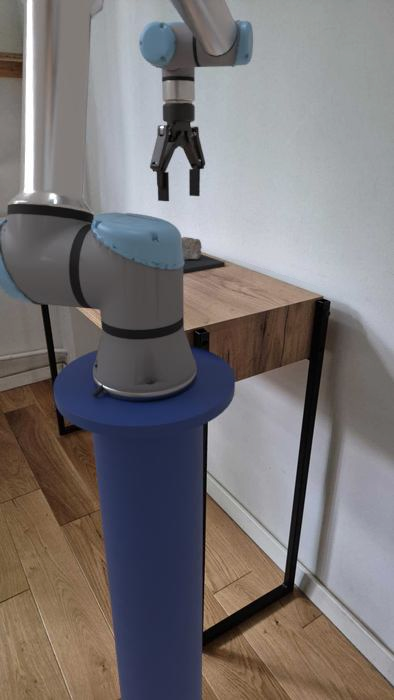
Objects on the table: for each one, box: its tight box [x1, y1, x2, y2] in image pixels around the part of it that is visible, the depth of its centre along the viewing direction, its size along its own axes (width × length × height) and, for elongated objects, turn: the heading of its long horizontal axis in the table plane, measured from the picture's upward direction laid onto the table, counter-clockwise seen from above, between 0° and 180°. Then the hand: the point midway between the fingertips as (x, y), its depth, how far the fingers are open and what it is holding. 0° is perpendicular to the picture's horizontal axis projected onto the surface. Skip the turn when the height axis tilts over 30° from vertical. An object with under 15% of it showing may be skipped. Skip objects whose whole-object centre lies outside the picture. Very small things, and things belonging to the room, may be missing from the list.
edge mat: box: [183, 253, 226, 274], centre depth 131 cm, size 20×14×1 cm
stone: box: [181, 236, 203, 260], centre depth 130 cm, size 10×8×6 cm
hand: (179, 198), depth 121 cm, fingers open, 13 cm apart
